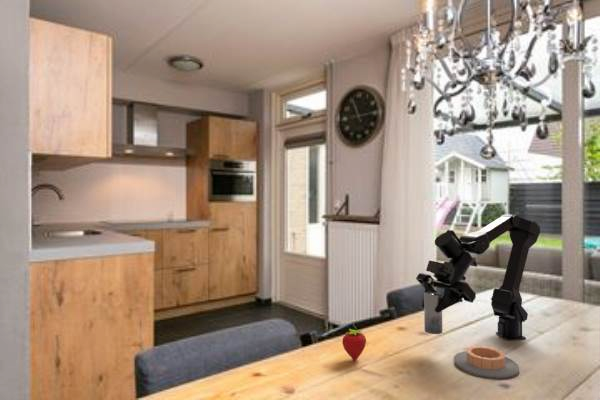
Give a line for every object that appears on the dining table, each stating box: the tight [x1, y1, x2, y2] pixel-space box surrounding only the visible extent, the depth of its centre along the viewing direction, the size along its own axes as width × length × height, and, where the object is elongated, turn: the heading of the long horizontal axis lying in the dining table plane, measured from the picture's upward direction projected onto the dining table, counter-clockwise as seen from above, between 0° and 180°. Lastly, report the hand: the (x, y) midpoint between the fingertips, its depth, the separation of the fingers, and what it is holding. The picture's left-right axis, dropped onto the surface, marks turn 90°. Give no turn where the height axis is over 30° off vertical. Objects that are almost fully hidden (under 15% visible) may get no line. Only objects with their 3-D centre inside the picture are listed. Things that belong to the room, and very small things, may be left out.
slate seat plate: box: [453, 345, 520, 380], centre depth 106 cm, size 16×16×4 cm
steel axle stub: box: [423, 291, 443, 335], centre depth 114 cm, size 5×5×11 cm
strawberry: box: [342, 325, 367, 361], centre depth 111 cm, size 6×8×10 cm
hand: (429, 309), depth 114 cm, fingers closed on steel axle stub, 5 cm apart
